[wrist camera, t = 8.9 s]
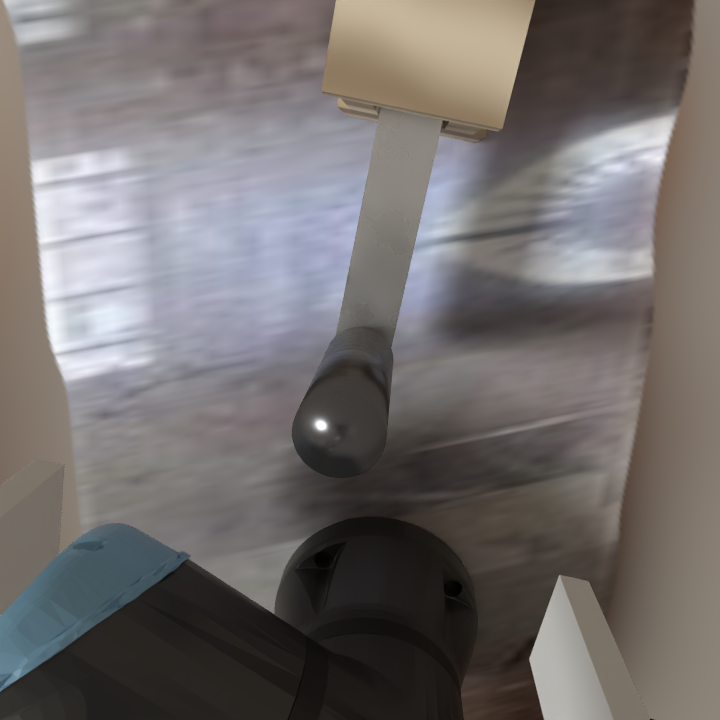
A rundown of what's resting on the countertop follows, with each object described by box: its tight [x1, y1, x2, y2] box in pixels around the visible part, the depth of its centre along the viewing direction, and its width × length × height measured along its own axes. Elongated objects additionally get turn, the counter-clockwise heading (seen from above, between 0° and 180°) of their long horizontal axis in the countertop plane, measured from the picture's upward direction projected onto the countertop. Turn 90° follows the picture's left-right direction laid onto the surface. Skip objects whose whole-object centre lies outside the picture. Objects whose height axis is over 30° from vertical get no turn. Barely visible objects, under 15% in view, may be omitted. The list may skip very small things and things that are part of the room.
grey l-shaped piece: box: [292, 107, 443, 478], centre depth 26 cm, size 24×4×13 cm, turn 169°
